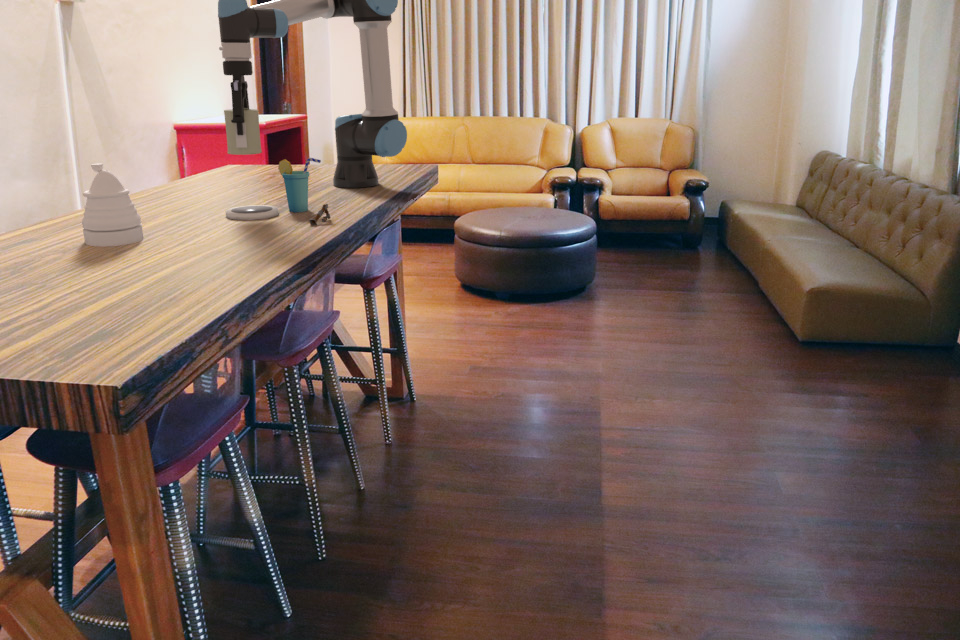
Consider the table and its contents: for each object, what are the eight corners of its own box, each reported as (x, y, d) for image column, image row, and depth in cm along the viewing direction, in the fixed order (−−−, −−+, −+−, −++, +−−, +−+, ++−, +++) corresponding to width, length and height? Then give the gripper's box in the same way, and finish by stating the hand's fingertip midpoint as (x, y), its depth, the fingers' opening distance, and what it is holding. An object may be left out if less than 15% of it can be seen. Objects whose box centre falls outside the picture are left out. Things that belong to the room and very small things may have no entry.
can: (267, 151, 228) (263, 107, 224) (254, 155, 219) (250, 109, 215) (235, 151, 229) (231, 107, 225) (221, 154, 220) (217, 109, 217)
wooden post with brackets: (334, 216, 216) (329, 202, 213) (319, 233, 211) (314, 219, 208) (328, 215, 217) (323, 201, 214) (313, 233, 212) (308, 218, 209)
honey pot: (72, 244, 190) (59, 166, 184) (114, 233, 201) (103, 160, 195) (115, 248, 185) (103, 169, 180) (155, 237, 197) (145, 162, 191)
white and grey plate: (280, 209, 230) (279, 204, 230) (276, 219, 217) (276, 213, 217) (229, 211, 228) (228, 205, 228) (222, 221, 215) (222, 215, 214)
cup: (330, 209, 230) (326, 156, 225) (317, 214, 223) (313, 159, 218) (286, 207, 234) (282, 154, 229) (272, 212, 227) (267, 157, 222)
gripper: (228, 60, 226) (235, 142, 233) (215, 59, 206) (224, 149, 213) (256, 60, 227) (262, 141, 234) (246, 59, 207) (253, 149, 214)
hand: (244, 145), depth 223 cm, fingers closed on can, 9 cm apart
